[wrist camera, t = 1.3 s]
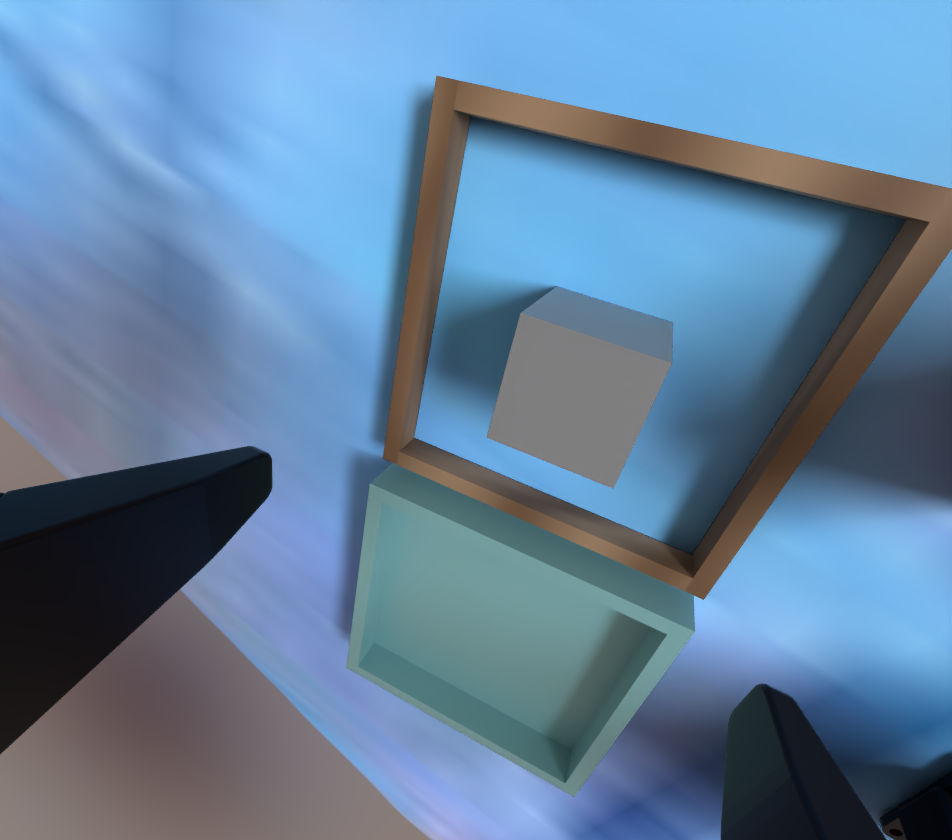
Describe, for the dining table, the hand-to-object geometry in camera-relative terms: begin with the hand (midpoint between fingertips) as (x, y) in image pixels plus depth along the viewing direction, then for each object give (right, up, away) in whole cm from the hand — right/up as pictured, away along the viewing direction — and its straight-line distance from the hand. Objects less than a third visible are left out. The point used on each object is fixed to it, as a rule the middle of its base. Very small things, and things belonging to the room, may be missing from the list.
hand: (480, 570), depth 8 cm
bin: (+1, -9, +19) cm, 21 cm away
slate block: (+5, +5, +11) cm, 13 cm away
